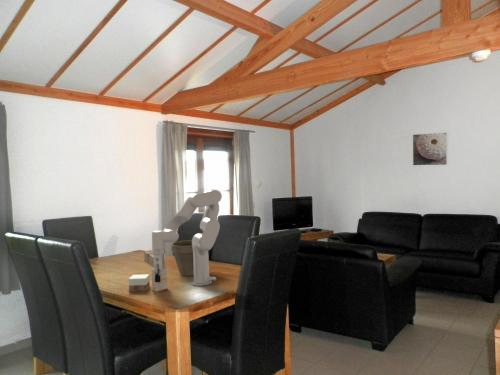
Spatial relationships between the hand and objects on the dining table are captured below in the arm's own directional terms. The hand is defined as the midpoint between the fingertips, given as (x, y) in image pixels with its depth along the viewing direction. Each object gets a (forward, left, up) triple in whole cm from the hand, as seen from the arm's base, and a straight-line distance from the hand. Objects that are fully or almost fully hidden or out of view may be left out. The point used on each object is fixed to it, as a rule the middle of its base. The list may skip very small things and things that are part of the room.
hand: (159, 280), depth 238 cm
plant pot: (-14, -40, -6) cm, 43 cm away
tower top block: (+13, -4, -2) cm, 13 cm away
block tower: (+19, -81, -7) cm, 83 cm away
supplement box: (0, 0, -6) cm, 6 cm away
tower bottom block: (+13, -4, -6) cm, 15 cm away
